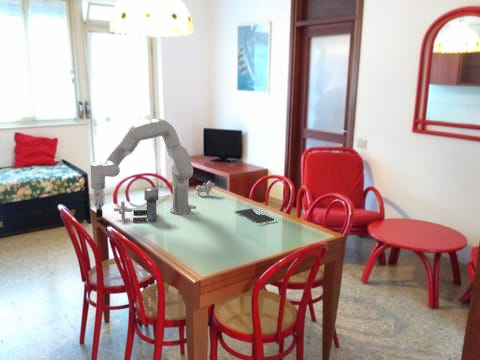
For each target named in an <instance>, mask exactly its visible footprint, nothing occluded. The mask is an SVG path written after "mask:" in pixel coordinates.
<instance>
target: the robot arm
mask: <svg viewBox="0 0 480 360" xmlns="http://www.w3.org/2000/svg"><path fill="white" fill-rule="evenodd" d="M158 137H162V139H163V143H164V145H165V148H166V150H167V155H168V157H169V158H170V159H171V160H173V163H172V165H171V176H172V207H171V208H170V209H169V212H170V213H171V214H174V215H186V214H190V213H191V212H192V210H195V209H196V210H197V205H194V204H191V205H190V204H189V187H190V186H189V185H190V184H189V183H190V179H191V178H192V177H193V174H194V168H193V164H192V161H191V158H190V154H189V152H188V150H187V149H186V147H185V146H182V144H181V141H180V138H179V136H178V133H177V131H176V129H175V127H174V126H173V125H172V124H171V123H170V122H168V121H166V120H164V119H162V118H159V117H158V118H153V119H151V121H150V122H149V123H148V122H147V123H144V124H143V123H142V124H141V123H139V122H138V123H133V124H132V125H131V127H130V128H129V129H128V131H127V133H126V134H125V135H124V137H123V138H122V140H121V141H120V143H118V145H116V147H115V149H114V150H113V151H112V152H111V153H110V154H109V156H108V157H107V159H106V160H105V162H104V163H101V162H93V163H91V165H90V167H89V168H90V187H91V189H92V190H93V205H94V207H95V208H96V209H95V211H96V214H95V215H96V216H95V217H96V218H103V207H104V205H105V203H106V201H105V189H106V177H107V178H108V177H110V178H111V177H112V178H114V177H117V176H118V175H119V174H120V172H121V170H120V169H121V168H120V165H121V163H122V161H123V160H124V159H125V158H127V157H128V156H129V155H132V154H133V153H134V151H135V150H136V148H137V147H138V145H139V144H140V142H141V141H145V140H150V139H155V138H158Z"/></svg>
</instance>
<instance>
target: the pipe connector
mask: <svg viewBox="0 0 480 360" xmlns="http://www.w3.org/2000/svg"><path fill="white" fill-rule="evenodd" d="M125 204H126V203H125V201H124V200H122V201H121V202H120V207H121V208H118V207H115V208H113V212H118V214H119V215H121V219H122V220H125V219H126V215H125V214H126V212H128V213H133V209H132V208H128V206H127V205H125Z"/></svg>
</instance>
